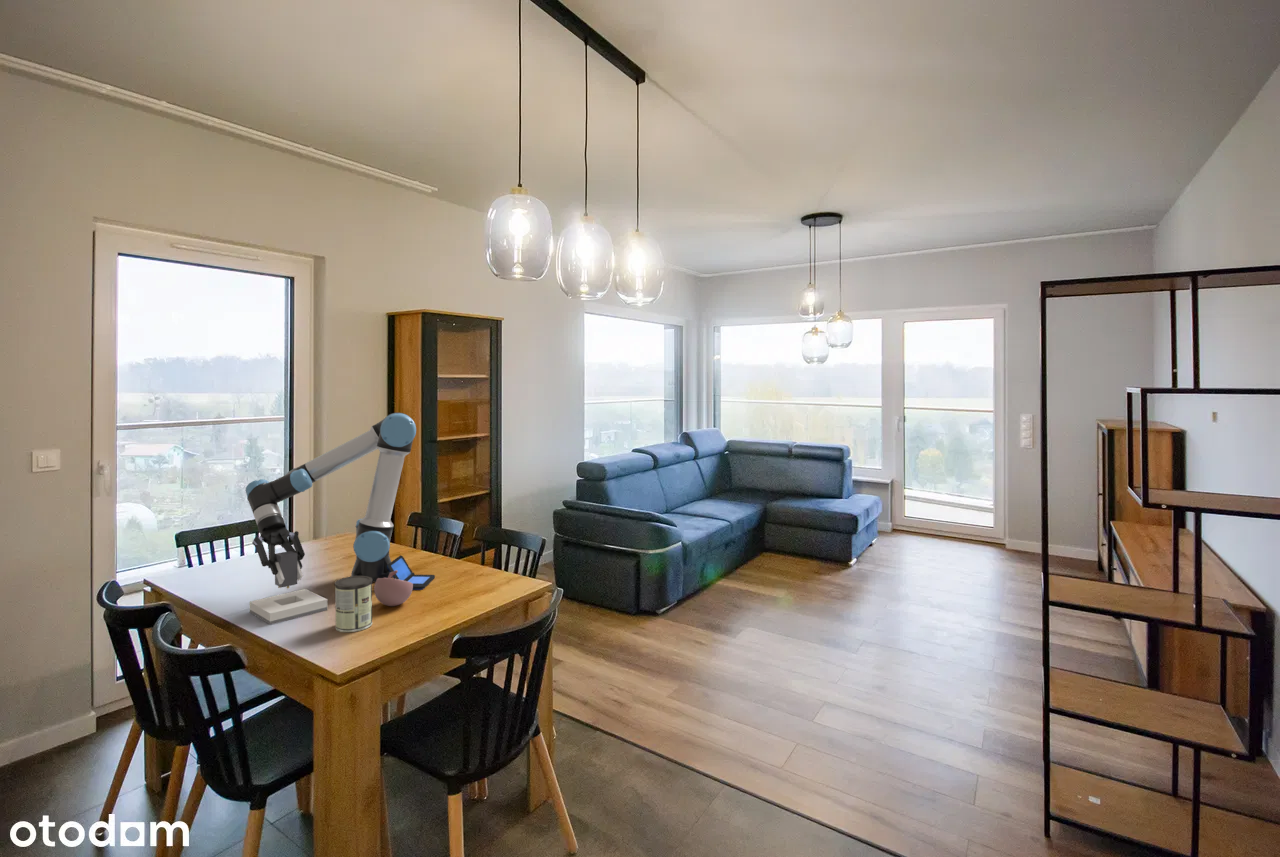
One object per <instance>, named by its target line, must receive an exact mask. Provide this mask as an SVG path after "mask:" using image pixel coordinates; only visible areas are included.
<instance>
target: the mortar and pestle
mask: <svg viewBox="0 0 1280 857" xmlns="http://www.w3.org/2000/svg"><path fill="white" fill-rule="evenodd" d="M397 572H398V571H397V570H395V571H393V572H390V574H389V576H388V578H378V579H377V580H376V582H374V587H373V588H374V590H373V591H374V595H375V598H376V599H377V600H378V602H380V603H381V604H382V605H384V606H388V607H396V606H399V605H402V604H403V603H405V602H406V601H407V600H409V598H410V597H411V594H412V592H413V590H412V589H413V583H411V582H408V581H404V580H399V579H394V578H393V577H392V576H393V575H394V574H396V573H397Z"/></svg>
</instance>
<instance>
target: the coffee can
mask: <svg viewBox="0 0 1280 857" xmlns="http://www.w3.org/2000/svg"><path fill="white" fill-rule="evenodd" d="M334 589H335V593H334V594H335V595H334V596H335V597H334V598H335V599H334V601H335V604H334V605H335V630H336V631H337V632H339V633H355V632H360V631H363V630H367V629H369V628H370V627H371V626H372V625H373V606H372V605H373V593H372V592H373V590H372V589H373V582H372V578H371V577H368V576H352V577H351V576H346V577H343V578H340V579H337V580H335V582H334Z"/></svg>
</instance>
